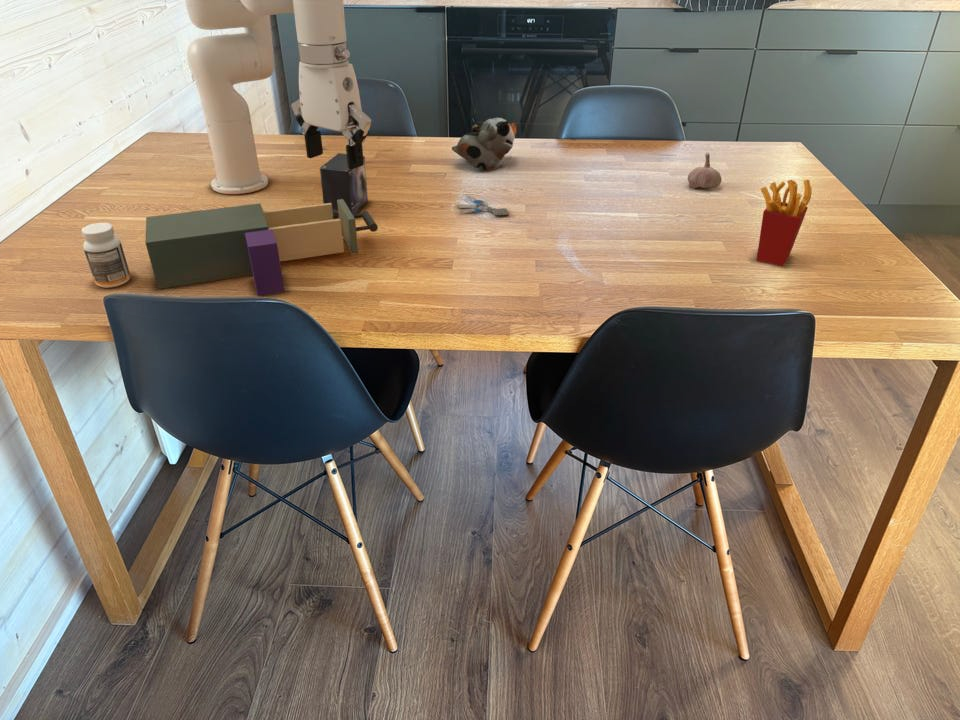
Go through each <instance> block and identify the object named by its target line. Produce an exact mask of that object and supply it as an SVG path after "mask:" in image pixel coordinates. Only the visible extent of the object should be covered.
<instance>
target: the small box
mask: <svg viewBox="0 0 960 720" xmlns="http://www.w3.org/2000/svg"><path fill="white" fill-rule="evenodd" d="M363 160H364V164H363V166H360V167H357V168H355V169H349V168H348V164H347V154H346V153H341V152H338V153H337V154H335V155H334V156H333V157H332V158H330V159H329V160H328V161H327V162H325V163H324V164H323V165H322V166H320V167H319V175H320V184H321V193H322V202H323V203H322V204H326V203H331V204H332V211H333V218H335V219H339V213H338V204H337V200H340V199H343V200H344V201H345V203H346V205H347V206H348V208H349V210H350V211H351V213H352V215H357V214H359V212H360V211H361V210H362V209H363V208H364V207H365V206H366V204H368V203H369V199H368V198H369V197H368V187H367V186H368V185H367V183H368V182H367V169H366V157H365V155H363Z"/></svg>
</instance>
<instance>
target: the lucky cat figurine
mask: <svg viewBox="0 0 960 720" xmlns="http://www.w3.org/2000/svg"><path fill="white" fill-rule="evenodd" d="M516 135H517V122H512V123H510V121H509V120H507V119H504V118H502V117H494V118H489V119H487V120H485V121H484V122H482V124H481V126H480V127H479V126H478V125H477V124H476V123H474V124H473V125H472V127H471V131H470V132H469V133H466V134H464V135H463V136H461V137H460V139H458V140H459V141H457V144H456V145H455V146H454V145H453V146H452V147H451V150H452V151H453V152H454V153H455V154H457V155H458V156H460V157H461V158H463V159H464V160H465V161H466V162H467V163H469V164H470V165H472V166H473V167H476V168H482V170H483V171H485V172H487V171H491V170H495V169H497V168H500V167H501V166H502V164H503V159H504V157H505V156H506V155H507V154H508V153H509V152H510V151H511V150H512V148H513V147H514V146H513V145H514V142H515V138H516Z"/></svg>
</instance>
